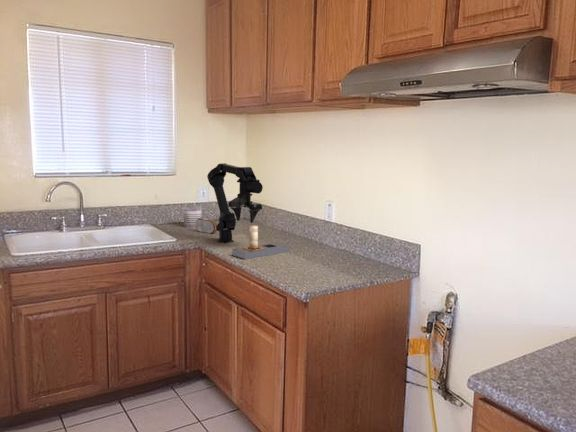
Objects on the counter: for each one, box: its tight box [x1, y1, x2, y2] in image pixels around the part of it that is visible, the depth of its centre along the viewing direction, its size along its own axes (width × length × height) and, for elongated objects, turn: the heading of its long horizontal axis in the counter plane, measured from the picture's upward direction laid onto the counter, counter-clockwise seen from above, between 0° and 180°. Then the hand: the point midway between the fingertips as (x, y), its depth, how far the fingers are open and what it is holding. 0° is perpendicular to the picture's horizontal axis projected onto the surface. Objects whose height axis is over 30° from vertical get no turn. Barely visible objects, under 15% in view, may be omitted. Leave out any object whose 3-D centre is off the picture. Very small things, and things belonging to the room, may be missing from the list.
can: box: [182, 205, 203, 229], centre depth 305 cm, size 11×11×12 cm
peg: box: [248, 225, 259, 250], centre depth 234 cm, size 4×4×14 cm
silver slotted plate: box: [231, 241, 291, 260], centre depth 238 cm, size 28×10×3 cm, turn 132°
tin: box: [195, 217, 218, 235], centre depth 286 cm, size 15×3×8 cm, turn 58°
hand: (244, 222), depth 250 cm, fingers open, 9 cm apart
